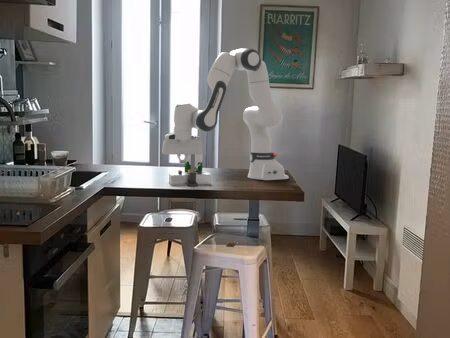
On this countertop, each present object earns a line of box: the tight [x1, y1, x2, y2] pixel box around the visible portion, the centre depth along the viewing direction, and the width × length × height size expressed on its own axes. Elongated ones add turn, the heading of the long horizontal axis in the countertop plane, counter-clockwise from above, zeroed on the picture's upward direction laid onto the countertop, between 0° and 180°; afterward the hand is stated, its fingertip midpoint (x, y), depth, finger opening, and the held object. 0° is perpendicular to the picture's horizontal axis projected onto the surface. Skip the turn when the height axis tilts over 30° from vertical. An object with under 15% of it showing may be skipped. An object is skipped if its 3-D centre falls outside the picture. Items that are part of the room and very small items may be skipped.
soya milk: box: [184, 145, 204, 172], centre depth 262 cm, size 9×9×20 cm
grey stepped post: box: [186, 154, 199, 188], centre depth 244 cm, size 5×5×16 cm
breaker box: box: [168, 169, 212, 186], centre depth 252 cm, size 20×8×7 cm, turn 105°
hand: (182, 163), depth 250 cm, fingers closed
